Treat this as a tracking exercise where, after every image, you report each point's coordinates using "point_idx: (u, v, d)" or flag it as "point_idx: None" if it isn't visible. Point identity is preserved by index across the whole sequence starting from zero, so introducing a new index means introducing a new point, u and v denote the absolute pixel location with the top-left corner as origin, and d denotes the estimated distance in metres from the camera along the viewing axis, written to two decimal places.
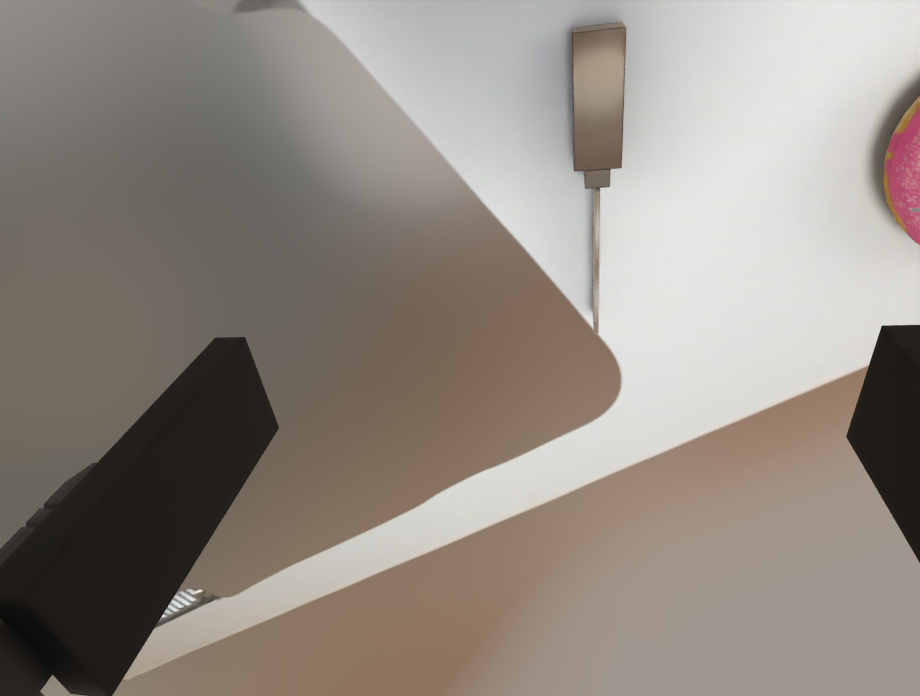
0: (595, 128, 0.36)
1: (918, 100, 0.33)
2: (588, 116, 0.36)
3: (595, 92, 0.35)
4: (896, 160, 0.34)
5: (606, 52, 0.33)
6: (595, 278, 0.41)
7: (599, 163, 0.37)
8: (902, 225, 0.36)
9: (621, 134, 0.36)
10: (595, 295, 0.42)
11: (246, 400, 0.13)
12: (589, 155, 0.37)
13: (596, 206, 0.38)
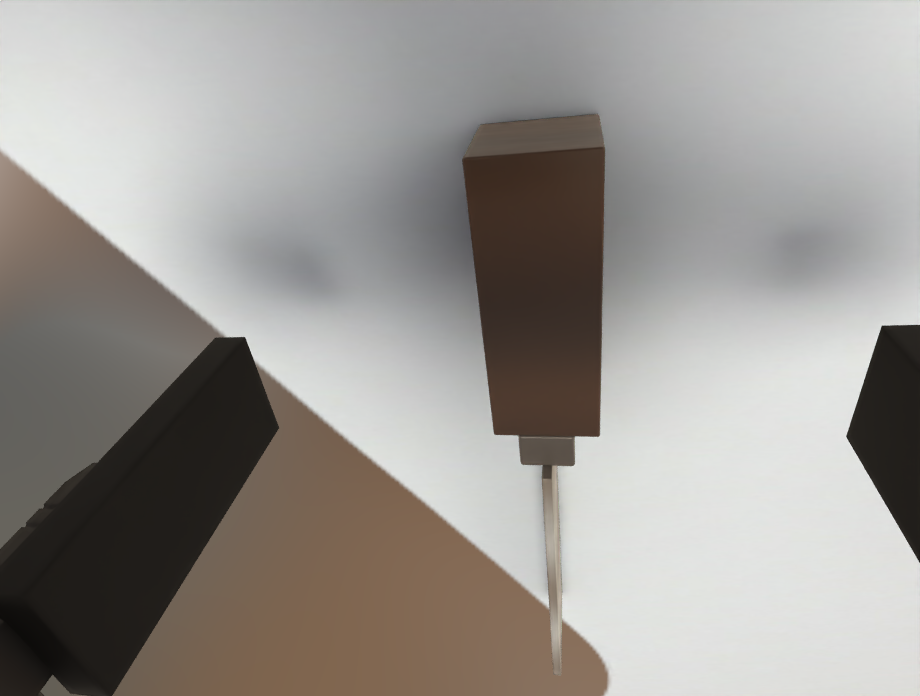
0: (535, 363, 0.15)
1: None
2: (519, 337, 0.15)
3: (532, 293, 0.14)
4: None
5: (556, 207, 0.13)
6: (551, 605, 0.20)
7: (549, 425, 0.16)
8: None
9: (598, 377, 0.15)
10: (552, 628, 0.21)
11: (246, 400, 0.13)
12: (526, 409, 0.16)
13: (545, 503, 0.17)
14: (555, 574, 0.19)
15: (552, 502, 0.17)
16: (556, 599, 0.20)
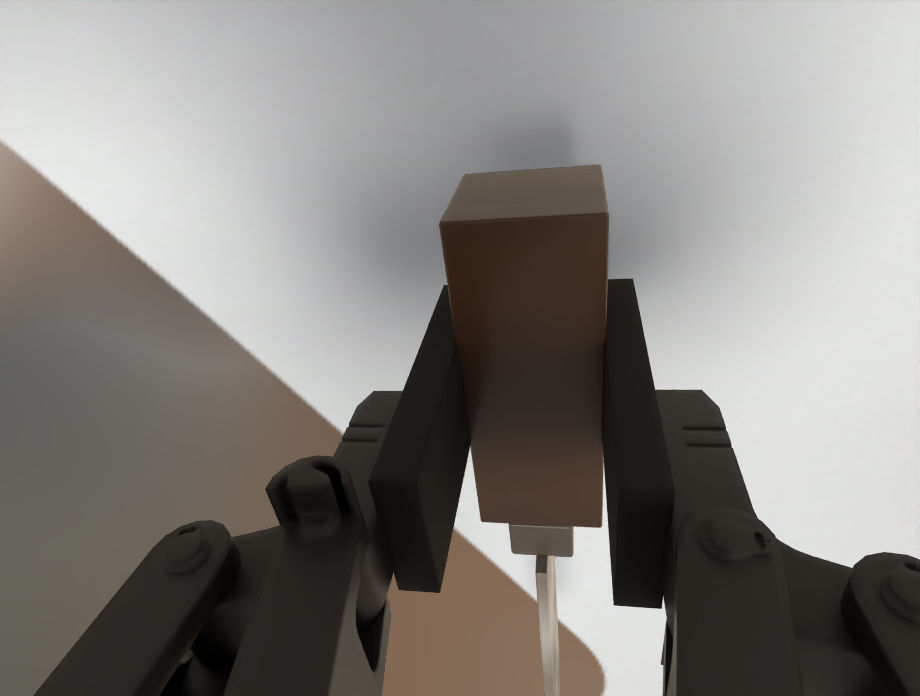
0: (527, 448, 0.13)
1: None
2: (508, 421, 0.13)
3: (523, 373, 0.12)
4: None
5: (550, 279, 0.11)
6: None
7: (544, 514, 0.14)
8: None
9: (600, 465, 0.13)
10: None
11: None
12: (517, 496, 0.14)
13: (540, 598, 0.15)
14: (551, 670, 0.17)
15: (547, 597, 0.15)
16: (552, 695, 0.18)
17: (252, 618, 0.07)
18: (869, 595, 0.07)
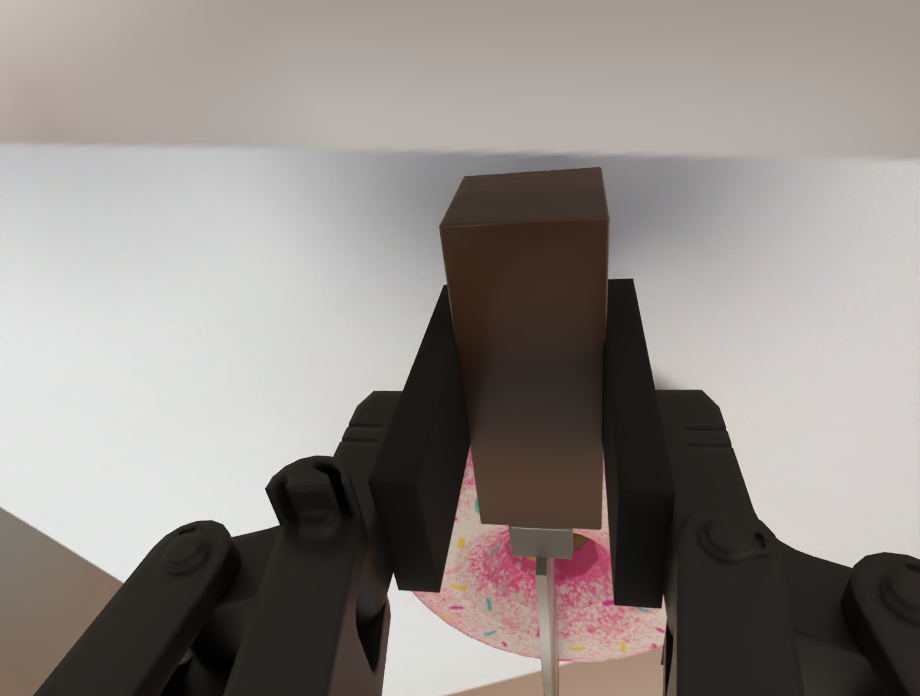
0: (527, 450, 0.13)
1: None
2: (508, 423, 0.13)
3: (523, 375, 0.12)
4: None
5: (550, 282, 0.11)
6: None
7: (544, 517, 0.14)
8: None
9: (600, 468, 0.13)
10: None
11: None
12: (517, 499, 0.14)
13: (540, 600, 0.15)
14: (550, 672, 0.17)
15: (547, 599, 0.15)
16: None
17: (252, 618, 0.07)
18: (869, 595, 0.07)
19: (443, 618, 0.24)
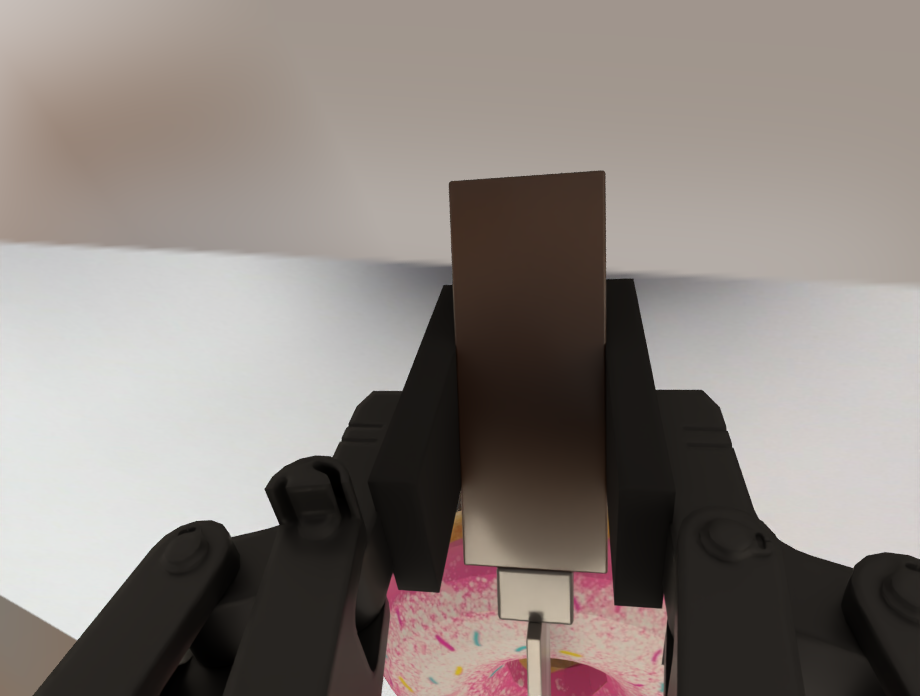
0: (522, 449, 0.12)
1: None
2: (503, 412, 0.12)
3: (520, 348, 0.11)
4: None
5: (550, 238, 0.11)
6: None
7: (539, 552, 0.12)
8: None
9: (603, 475, 0.11)
10: None
11: None
12: (508, 523, 0.12)
13: (531, 686, 0.12)
14: None
15: (540, 684, 0.12)
16: None
17: (252, 618, 0.07)
18: (870, 595, 0.07)
19: None
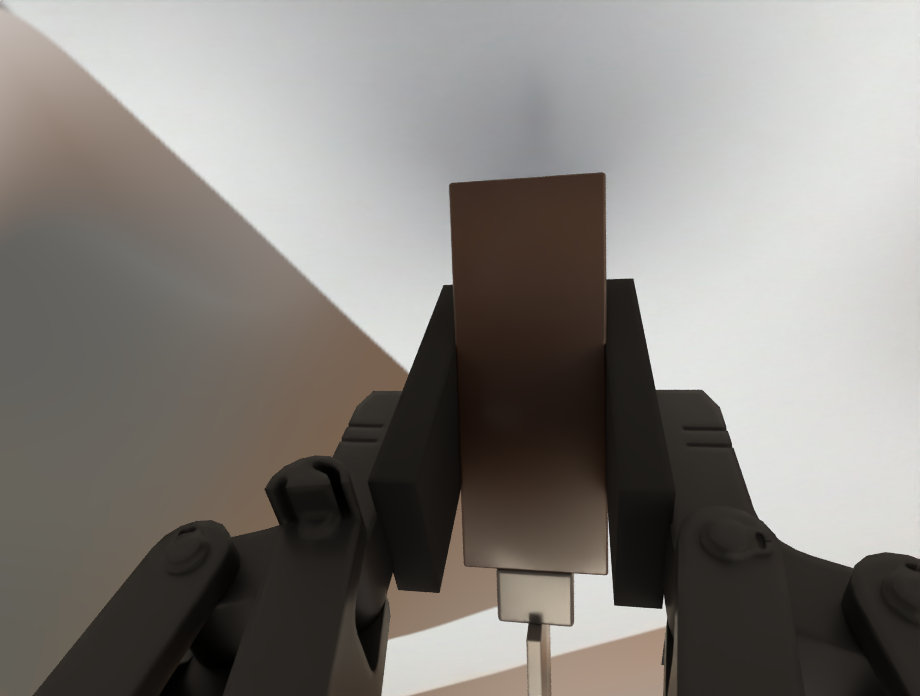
0: (522, 451, 0.12)
1: None
2: (503, 413, 0.12)
3: (521, 350, 0.11)
4: None
5: (550, 241, 0.11)
6: None
7: (539, 553, 0.12)
8: None
9: (603, 476, 0.11)
10: None
11: None
12: (509, 525, 0.12)
13: (532, 687, 0.12)
14: None
15: (541, 686, 0.12)
16: None
17: (252, 618, 0.07)
18: (870, 595, 0.07)
19: None
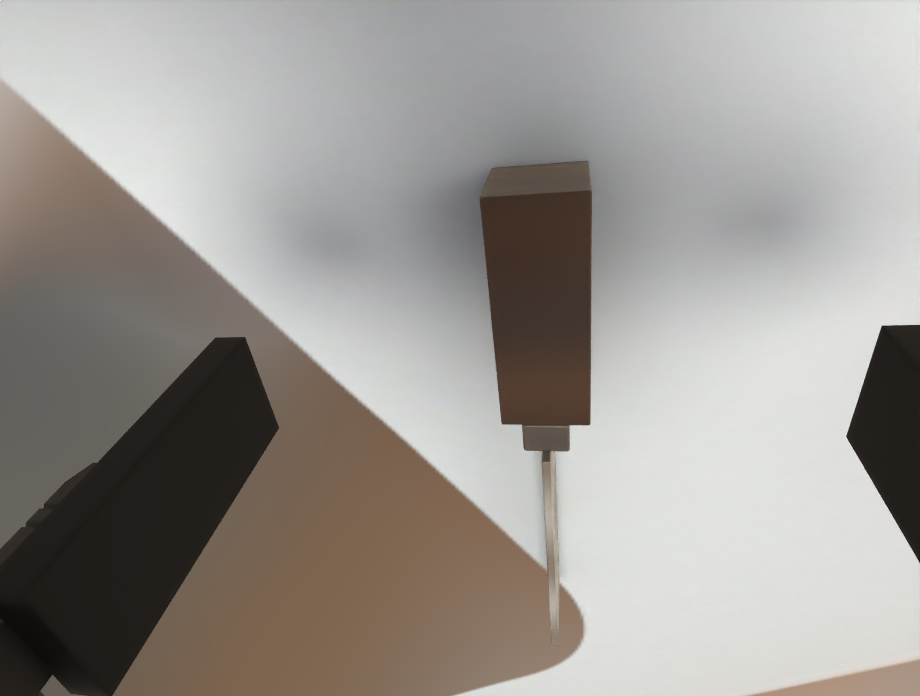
0: (537, 362, 0.18)
1: None
2: (523, 341, 0.18)
3: (534, 304, 0.17)
4: None
5: (553, 236, 0.16)
6: (549, 578, 0.23)
7: (548, 416, 0.19)
8: None
9: (588, 374, 0.18)
10: (551, 599, 0.24)
11: (246, 400, 0.13)
12: (528, 401, 0.19)
13: (545, 484, 0.20)
14: (553, 548, 0.22)
15: (550, 482, 0.20)
16: (554, 572, 0.23)
17: None
18: None
19: None
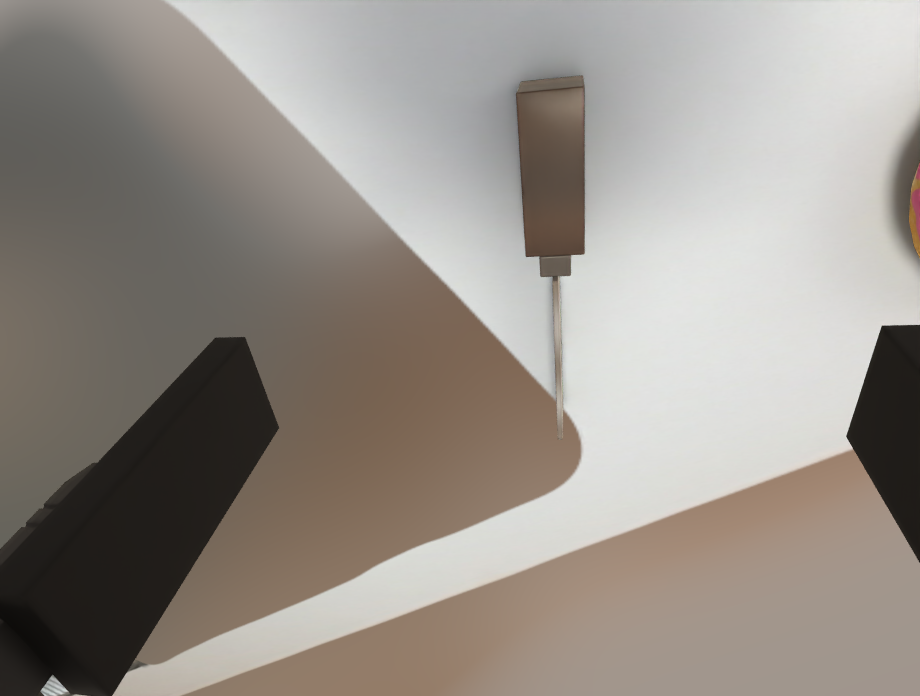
0: (549, 207, 0.28)
1: None
2: (541, 192, 0.28)
3: (548, 165, 0.27)
4: None
5: (561, 117, 0.26)
6: (556, 379, 0.34)
7: (556, 248, 0.30)
8: None
9: (583, 215, 0.28)
10: (557, 397, 0.34)
11: (246, 400, 0.13)
12: (544, 238, 0.29)
13: (554, 299, 0.31)
14: (559, 353, 0.32)
15: (558, 298, 0.31)
16: (560, 373, 0.33)
17: None
18: None
19: None
